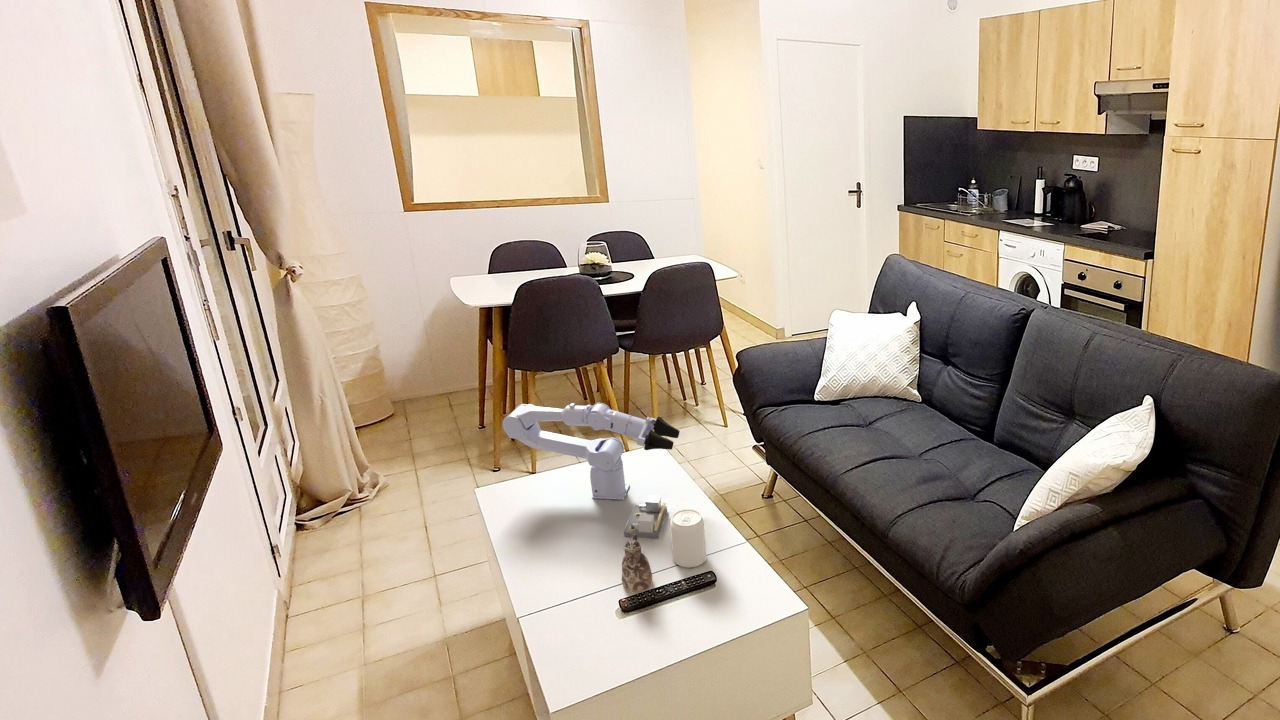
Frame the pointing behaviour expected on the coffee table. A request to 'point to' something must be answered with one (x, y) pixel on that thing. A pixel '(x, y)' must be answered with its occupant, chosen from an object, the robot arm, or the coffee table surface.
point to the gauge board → (635, 520)
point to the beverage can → (688, 538)
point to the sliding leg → (652, 504)
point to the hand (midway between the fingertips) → (675, 440)
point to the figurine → (635, 568)
